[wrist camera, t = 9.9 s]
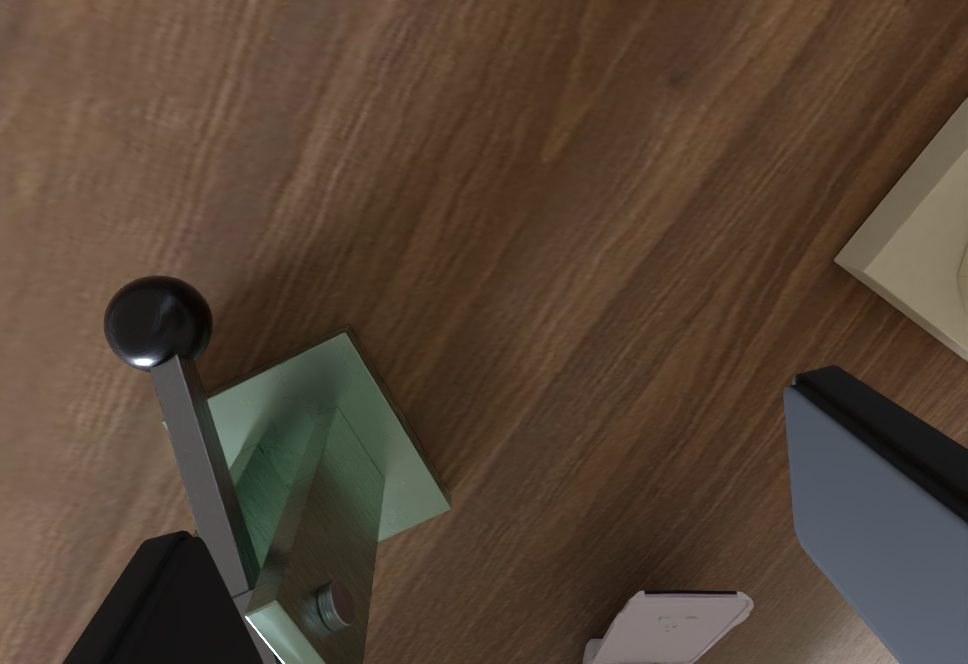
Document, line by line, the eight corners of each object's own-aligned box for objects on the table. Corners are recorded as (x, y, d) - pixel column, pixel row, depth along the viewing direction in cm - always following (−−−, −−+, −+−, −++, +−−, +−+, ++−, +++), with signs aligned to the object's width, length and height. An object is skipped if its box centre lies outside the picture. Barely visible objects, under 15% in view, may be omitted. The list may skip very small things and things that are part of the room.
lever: (140, 313, 24) (68, 290, 21) (216, 275, 24) (155, 245, 21) (252, 689, 21) (186, 732, 17) (343, 649, 20) (294, 684, 17)
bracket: (171, 409, 28) (-21, 633, 16) (348, 322, 28) (285, 489, 16) (290, 568, 32) (204, 851, 20) (451, 494, 31) (464, 741, 19)
